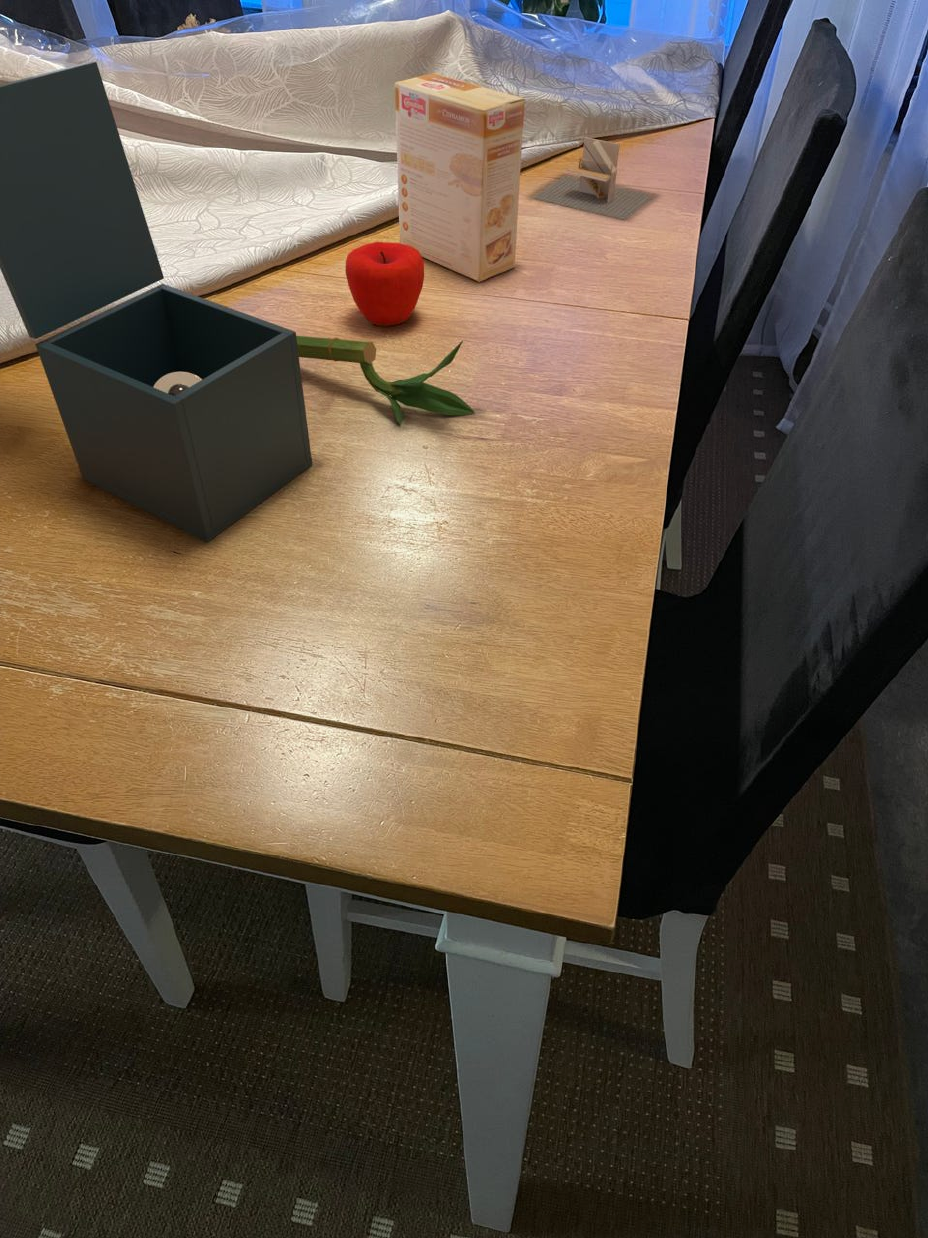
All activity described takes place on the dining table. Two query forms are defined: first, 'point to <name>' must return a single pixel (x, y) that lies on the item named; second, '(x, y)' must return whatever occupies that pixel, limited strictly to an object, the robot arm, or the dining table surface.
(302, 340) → the decorative plant
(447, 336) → the dining table surface
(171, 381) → the pepper mill
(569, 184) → the architectural model
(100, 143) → the lid
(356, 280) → the apple
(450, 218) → the coffeecake box
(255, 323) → the chest
